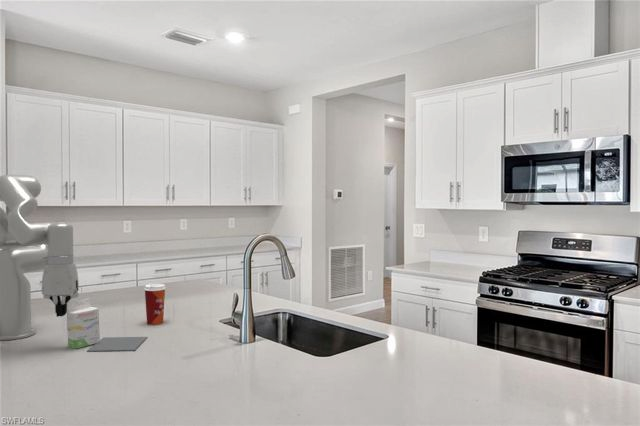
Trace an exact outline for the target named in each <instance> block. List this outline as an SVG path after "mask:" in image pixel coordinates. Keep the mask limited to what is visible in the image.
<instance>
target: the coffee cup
mask: <svg viewBox="0 0 640 426" xmlns="http://www.w3.org/2000/svg"><path fill="white" fill-rule="evenodd" d="M166 289H167V288H166V284H164V283H149V284H146V285H145V286H144V288H143V290H144V299H145V313H146V324H147V325H151V326H155V325H161V324H163V322H164V315H165V313H164V312H165V298H166Z"/></svg>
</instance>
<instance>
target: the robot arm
mask: <svg viewBox="0 0 640 426" xmlns="http://www.w3.org/2000/svg"><path fill="white" fill-rule="evenodd" d="M41 191H42V185H41V183H40V181H39V180H38V178H36V177H35V176H32V175H26V174H25V175H22V174H21V175H20V174H3V175H0V202H3V203H4V204H5V205H6V207H7V208H8V210H9V211H10V212H9V213H8V214H7V212H6V211H5V210H4V209H3V208H2V207H0V341H9V340H18V339H19V340H21V339H25V338H28V337H31V336H33V335H35V334H36V333H37V328H35V327H32V306H31V305H32V297H31V296H32V295H31V294H32V291H31V283H30V281H29V279H28V278H27V277H26V276H25V274H24V273H29V272H37V271H42V270H43V272H42V276H41V277H42V279H41V281H42V282H41V294H42V295H43V296H42V297H43V299H48V300H50V302H53V304H54V306H55V307H54V310H55V315H56V317H64V316H65V315H66V316H67V303H68V302H70V300H72V299H77V298H79V292H78V291H79V290H80V289H79V288H80V287H79V286H80V285H79V275H78V270H77V266H76V265H77V264H76V263H74V226H73V225H72V224H71V223H66V222H65V223H61V222H57V221H46V222H45V221H43V222H41V221H40V222H39V221H38V222H29V221H28V222H27V221H26V220H25V218H26V217H28V216H30V215H32V214H33V213H34V212H35V211H36V210H37V207H38V200H37V199H36V198H37V197H39V195H40V194H41Z"/></svg>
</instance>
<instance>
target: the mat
mask: <svg viewBox="0 0 640 426" xmlns="http://www.w3.org/2000/svg"><path fill="white" fill-rule="evenodd" d="M147 339H148V336H117V337H116V336H115V337H114V336H113V337H111V336H110V337H102V338H100V342H99V343H95V344H92V346H91V347H90V348H88V349H87V350H86V352H87V353H95V352H97V353H98V352H99V353H100V352H102V353H103V352H106V353H107V352H136V351H137V350H138V349H139V348H140V346H141V345H142V344H143V343H144V342H145V341H146V340H147Z"/></svg>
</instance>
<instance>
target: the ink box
mask: <svg viewBox="0 0 640 426" xmlns="http://www.w3.org/2000/svg"><path fill="white" fill-rule="evenodd" d="M78 304H80V305H78ZM99 315H100V314H99V308H98V307H94V306H92V299H91V298H90V297H89V298H84V299H80V300H79V299H78V300H72V301H68V302H67V313H66V326H67V346H68V347H69V348H72V349H75V350H77V349H80V348H83V347H87V346H88V347H89V346H91V345H95V344H96V343H99V342H100V340H101V336H100V318H99V317H100V316H99Z"/></svg>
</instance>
